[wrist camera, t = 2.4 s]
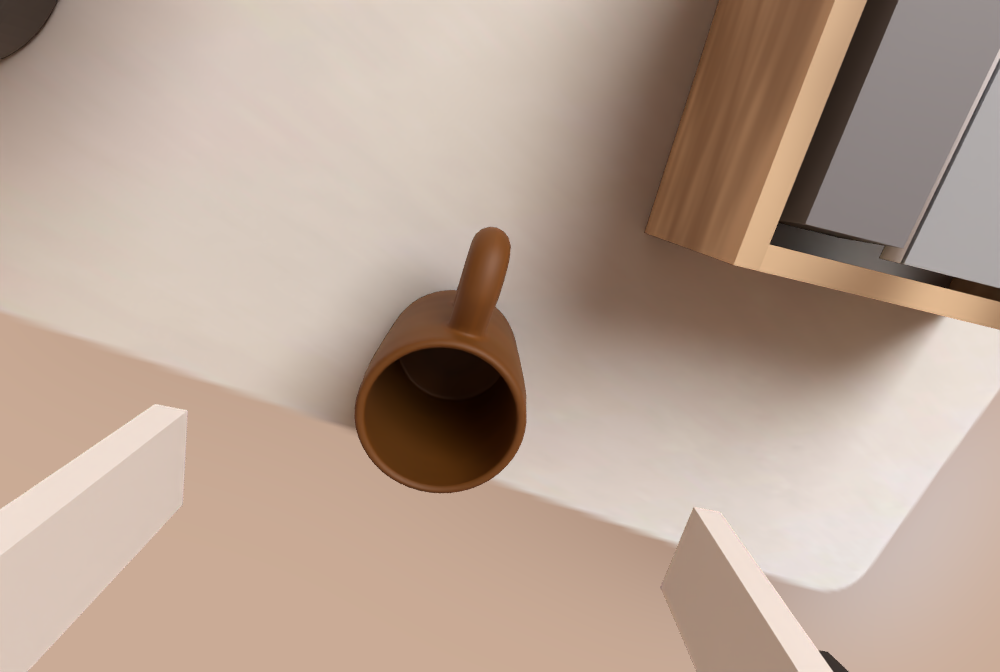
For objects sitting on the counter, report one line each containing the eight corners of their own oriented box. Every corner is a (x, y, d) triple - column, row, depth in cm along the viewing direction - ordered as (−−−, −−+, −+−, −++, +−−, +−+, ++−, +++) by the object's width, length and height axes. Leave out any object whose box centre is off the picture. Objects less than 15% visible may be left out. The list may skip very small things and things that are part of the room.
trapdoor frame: (644, 232, 28) (733, 264, 18) (768, -155, 23) (992, -412, 13) (953, 308, 30) (1186, 375, 20) (1134, -30, 25) (1574, -169, 15)
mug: (427, 193, 27) (399, 203, 18) (557, 235, 28) (592, 264, 19) (377, 386, 30) (333, 474, 22) (494, 417, 31) (499, 514, 22)
